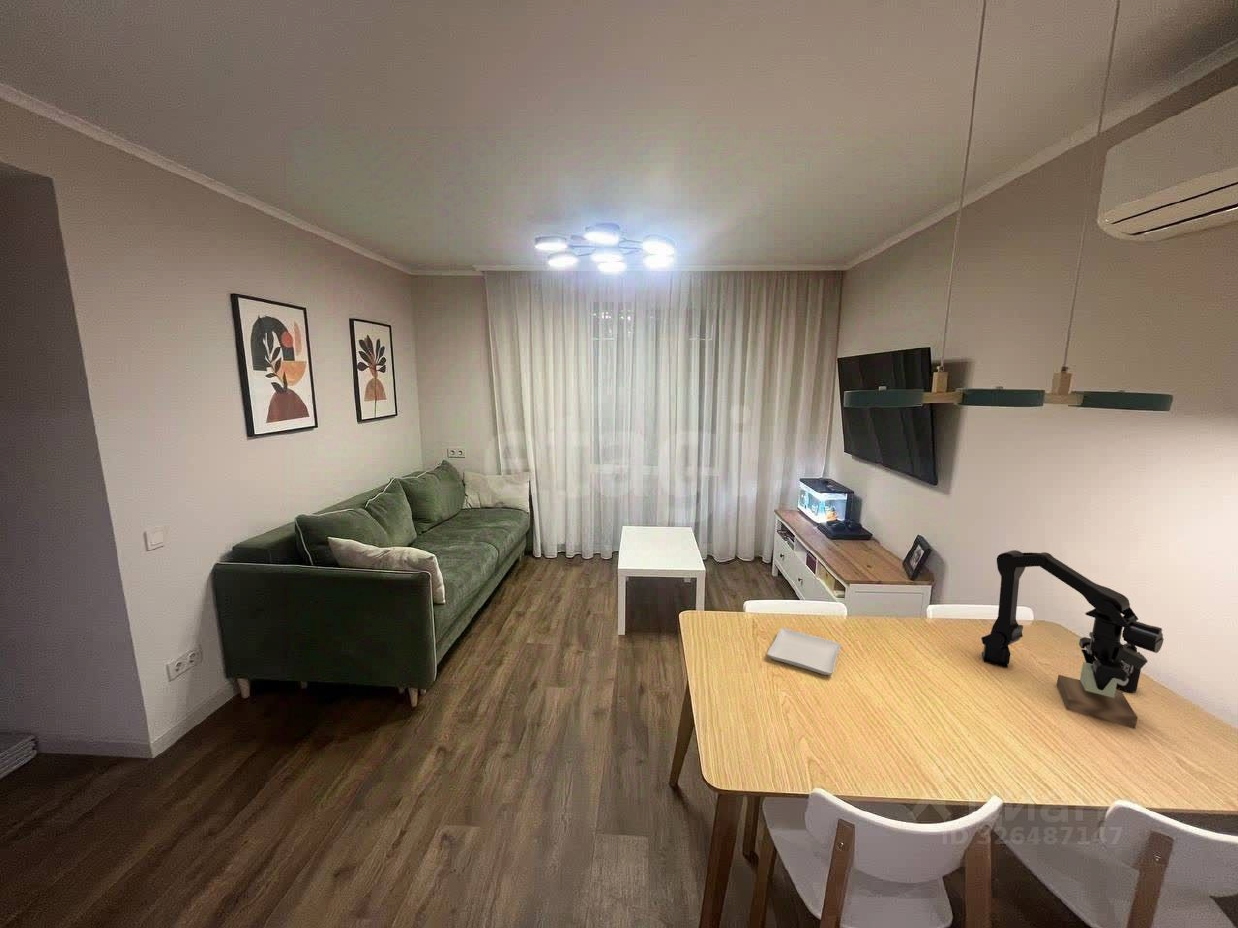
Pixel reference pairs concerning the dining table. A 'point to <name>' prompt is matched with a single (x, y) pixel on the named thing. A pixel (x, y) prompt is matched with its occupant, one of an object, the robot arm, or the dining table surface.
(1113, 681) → the sage cube
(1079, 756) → the dining table surface
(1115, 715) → the walnut box
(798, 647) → the salad plate
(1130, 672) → the beverage can
